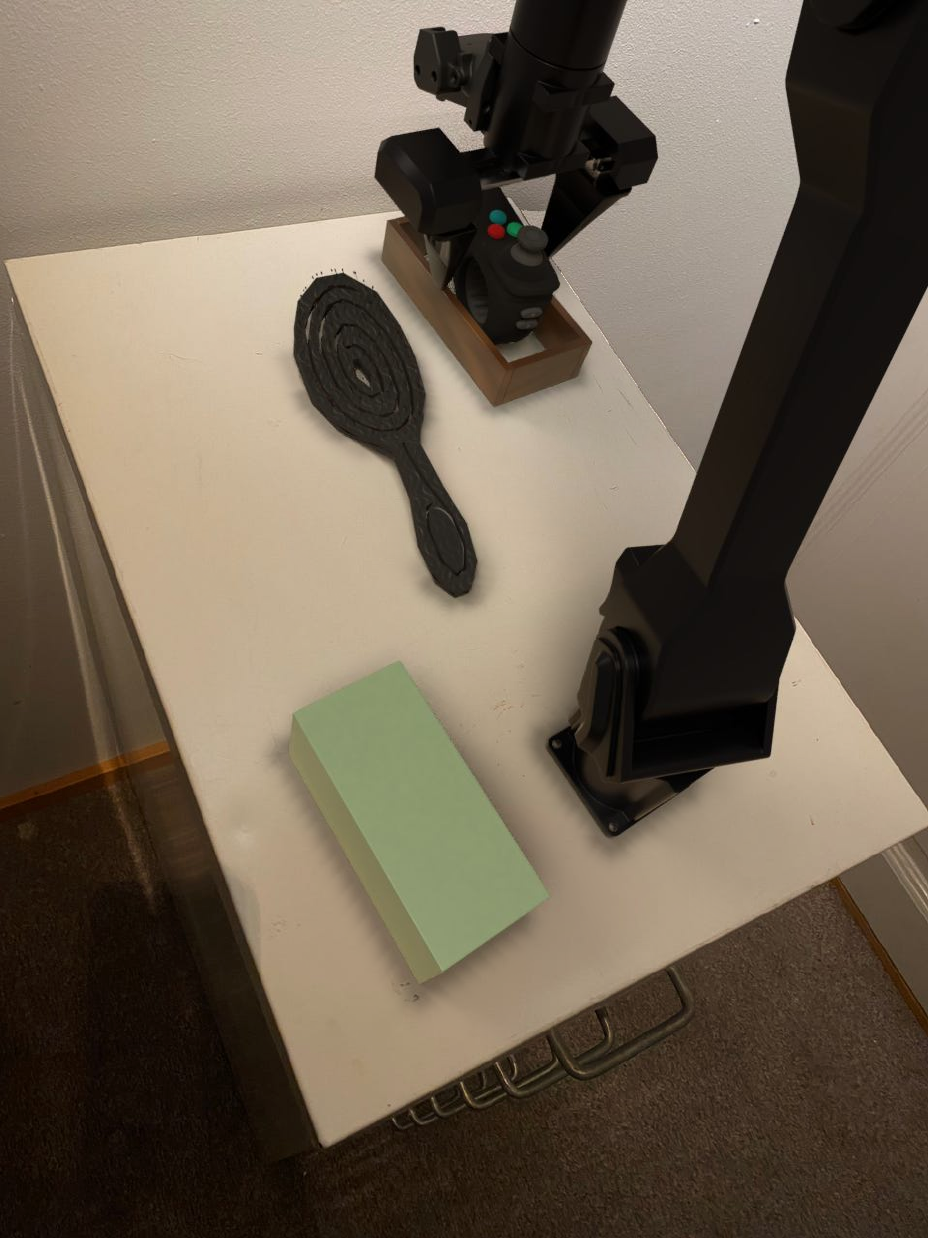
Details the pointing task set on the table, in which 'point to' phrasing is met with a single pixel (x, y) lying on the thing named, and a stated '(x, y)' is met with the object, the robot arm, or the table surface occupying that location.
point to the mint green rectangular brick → (412, 820)
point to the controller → (505, 272)
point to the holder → (467, 337)
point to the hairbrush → (380, 408)
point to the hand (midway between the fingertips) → (491, 271)
